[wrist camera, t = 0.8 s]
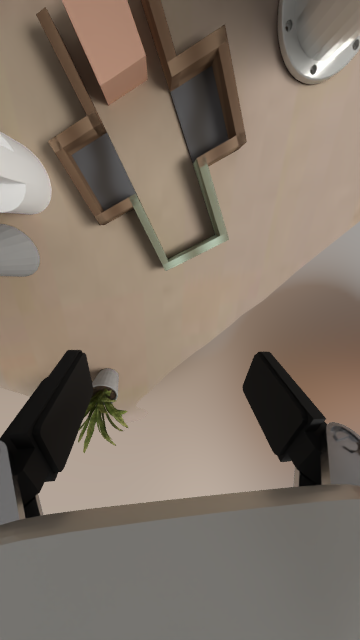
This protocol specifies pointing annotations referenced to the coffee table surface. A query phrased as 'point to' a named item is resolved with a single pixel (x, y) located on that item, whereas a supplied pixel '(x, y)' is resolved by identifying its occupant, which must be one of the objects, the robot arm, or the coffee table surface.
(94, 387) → the house plant
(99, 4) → the terracotta block
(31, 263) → the lava lamp
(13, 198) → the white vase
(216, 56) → the box
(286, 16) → the robot arm
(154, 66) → the coffee table surface
